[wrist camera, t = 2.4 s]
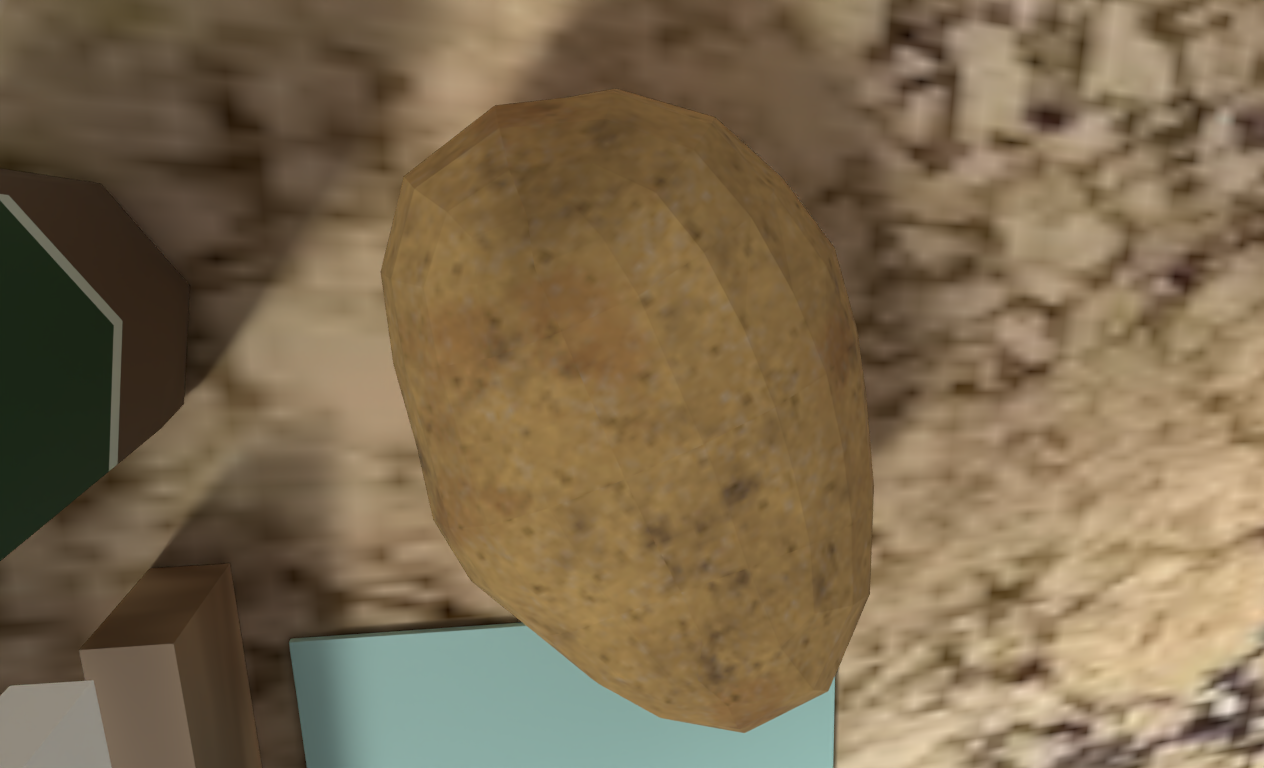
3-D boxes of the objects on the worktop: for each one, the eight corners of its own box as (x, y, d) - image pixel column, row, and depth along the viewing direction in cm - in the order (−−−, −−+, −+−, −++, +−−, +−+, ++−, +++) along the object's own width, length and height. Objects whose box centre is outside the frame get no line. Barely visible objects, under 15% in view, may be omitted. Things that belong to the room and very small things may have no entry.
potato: (568, 670, 27) (573, 890, 20) (323, 186, 24) (212, 226, 16) (901, 530, 27) (1039, 699, 19) (708, 16, 23) (785, -28, 16)
